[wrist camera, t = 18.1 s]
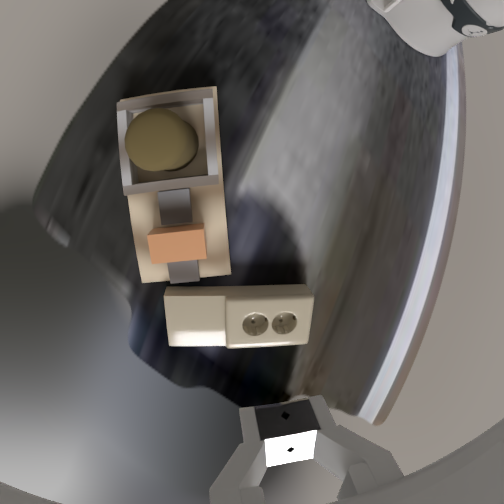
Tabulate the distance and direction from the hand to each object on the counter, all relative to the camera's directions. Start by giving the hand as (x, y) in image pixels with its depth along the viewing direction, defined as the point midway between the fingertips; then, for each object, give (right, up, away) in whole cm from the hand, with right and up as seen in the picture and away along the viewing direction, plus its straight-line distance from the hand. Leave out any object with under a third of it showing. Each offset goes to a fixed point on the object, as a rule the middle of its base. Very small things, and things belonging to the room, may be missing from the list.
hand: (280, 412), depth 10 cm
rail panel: (-10, +13, +23) cm, 28 cm away
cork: (-10, +18, +21) cm, 29 cm away
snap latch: (-9, +7, +24) cm, 26 cm away
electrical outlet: (-3, -2, +30) cm, 30 cm away
